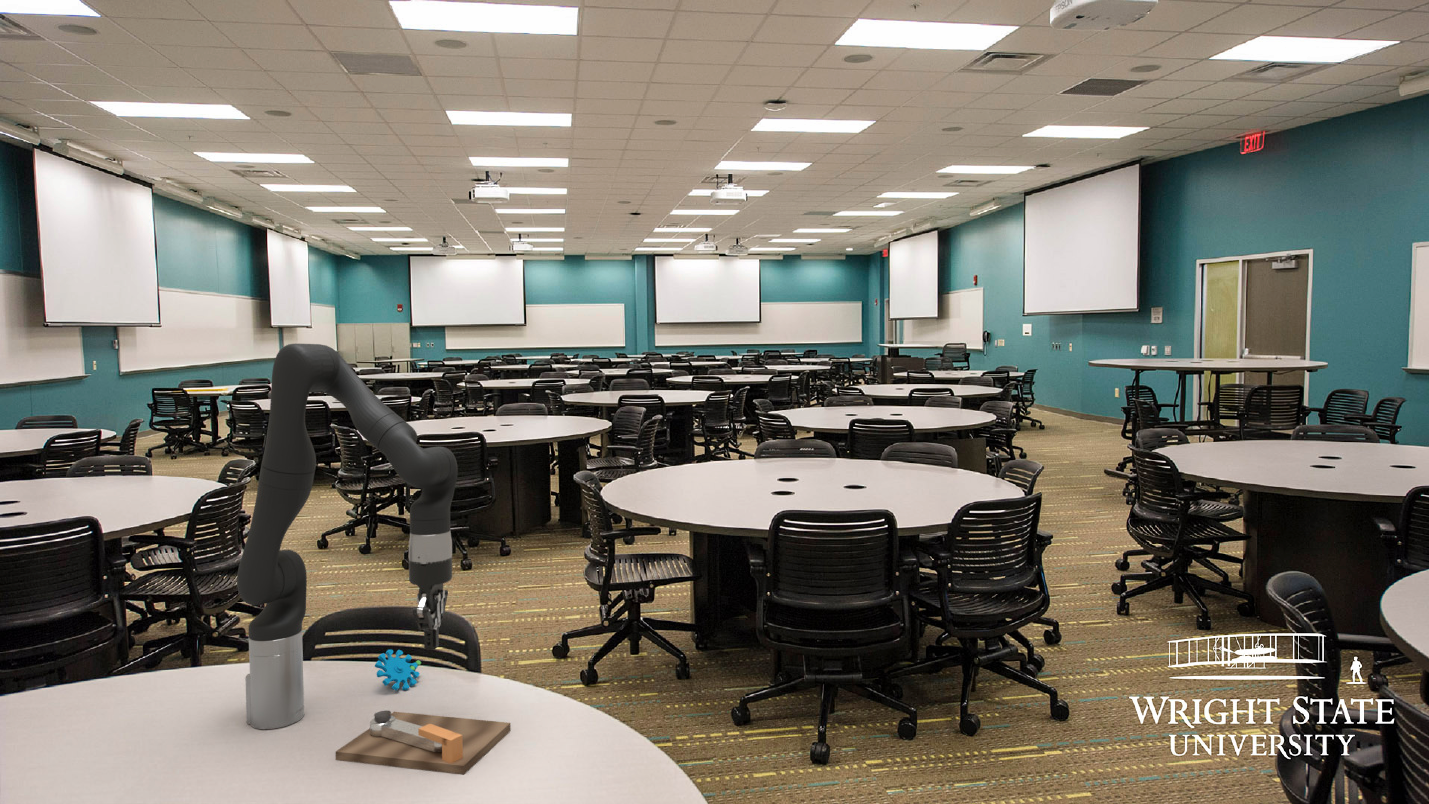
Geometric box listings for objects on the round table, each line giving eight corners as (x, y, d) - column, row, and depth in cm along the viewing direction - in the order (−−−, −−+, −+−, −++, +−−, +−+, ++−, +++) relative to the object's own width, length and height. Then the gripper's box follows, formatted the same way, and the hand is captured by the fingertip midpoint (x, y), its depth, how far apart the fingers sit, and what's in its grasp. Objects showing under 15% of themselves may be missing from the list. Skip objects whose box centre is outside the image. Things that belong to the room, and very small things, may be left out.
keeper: (418, 750, 141) (418, 728, 141) (430, 745, 143) (429, 723, 143) (451, 763, 136) (451, 740, 136) (462, 757, 138) (462, 735, 138)
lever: (364, 733, 147) (364, 722, 147) (384, 724, 151) (384, 713, 151) (438, 755, 139) (438, 744, 138) (457, 744, 142) (457, 733, 142)
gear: (388, 691, 167) (371, 651, 171) (374, 707, 169) (357, 667, 173) (432, 681, 176) (414, 643, 181) (417, 696, 178) (400, 658, 183)
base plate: (335, 759, 141) (335, 732, 141) (394, 719, 157) (393, 694, 157) (463, 774, 135) (463, 745, 135) (510, 730, 152) (510, 704, 152)
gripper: (422, 547, 153) (423, 636, 154) (396, 564, 140) (397, 661, 141) (461, 547, 153) (462, 636, 154) (439, 564, 140) (440, 661, 141)
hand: (431, 648), depth 147 cm, fingers closed
